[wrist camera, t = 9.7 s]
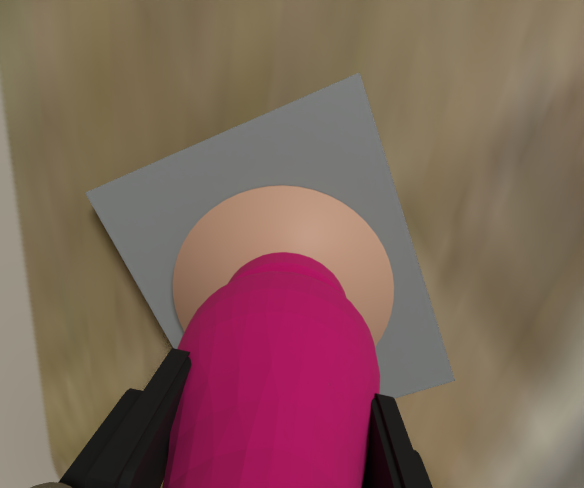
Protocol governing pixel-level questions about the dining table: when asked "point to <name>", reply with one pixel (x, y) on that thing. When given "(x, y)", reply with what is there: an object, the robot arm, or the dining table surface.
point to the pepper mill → (275, 383)
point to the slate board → (283, 224)
